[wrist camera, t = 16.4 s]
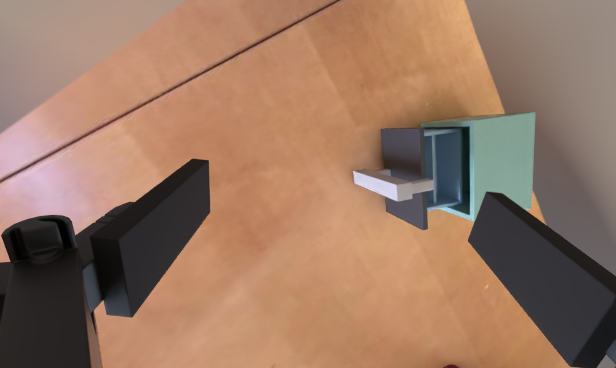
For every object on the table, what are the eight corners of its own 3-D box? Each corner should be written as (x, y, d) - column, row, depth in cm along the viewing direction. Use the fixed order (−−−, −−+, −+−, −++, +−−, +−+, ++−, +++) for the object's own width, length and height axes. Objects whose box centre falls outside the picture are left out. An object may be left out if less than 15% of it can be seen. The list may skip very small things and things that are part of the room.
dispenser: (423, 202, 41) (474, 221, 32) (420, 122, 39) (474, 120, 30) (471, 193, 43) (531, 208, 34) (470, 116, 40) (535, 111, 32)
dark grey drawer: (356, 217, 38) (400, 247, 28) (348, 133, 36) (393, 134, 26) (437, 201, 41) (503, 223, 31) (434, 121, 38) (505, 118, 29)
